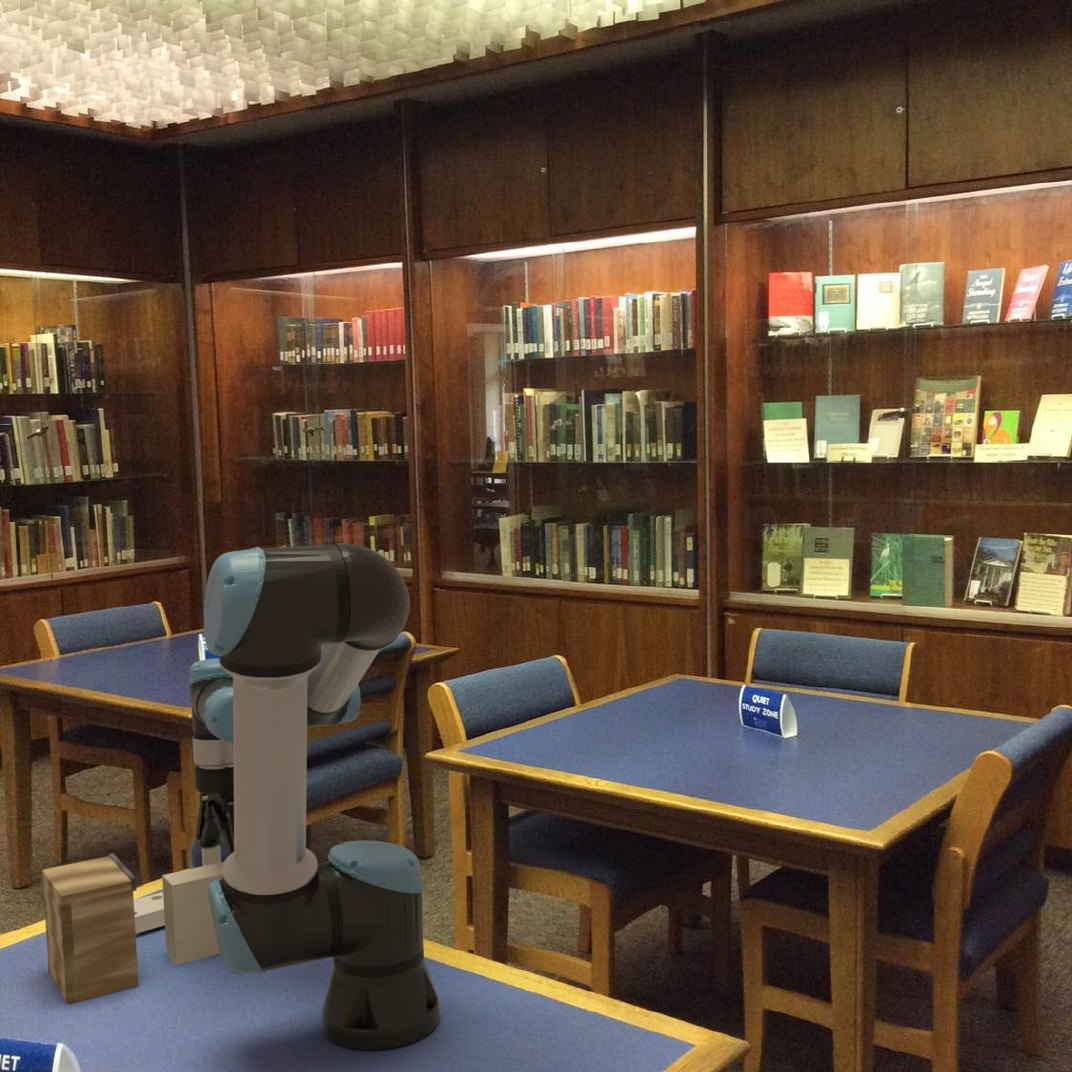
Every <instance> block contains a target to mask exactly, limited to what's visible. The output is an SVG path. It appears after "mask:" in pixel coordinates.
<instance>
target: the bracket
mask: <svg viewBox="0 0 1072 1072" xmlns="http://www.w3.org/2000/svg"><path fill="white" fill-rule="evenodd" d="M134 915H135V932H136V934H140V933H142V932H146V931H149V930H153V929H157V928H160V927H163V926H164V927H165V919H164V901H163V891H161V892H158V893H154V894H150V895H147V896H144V897H139V898H135V899H134Z"/></svg>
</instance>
